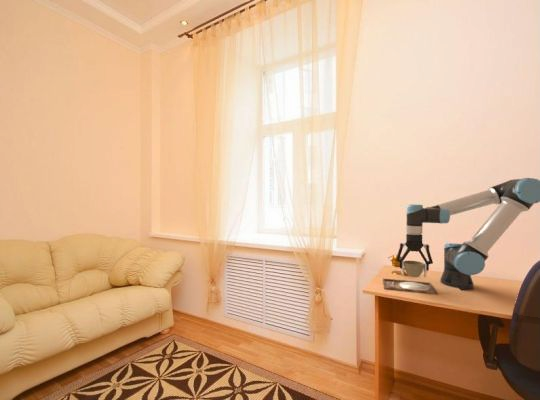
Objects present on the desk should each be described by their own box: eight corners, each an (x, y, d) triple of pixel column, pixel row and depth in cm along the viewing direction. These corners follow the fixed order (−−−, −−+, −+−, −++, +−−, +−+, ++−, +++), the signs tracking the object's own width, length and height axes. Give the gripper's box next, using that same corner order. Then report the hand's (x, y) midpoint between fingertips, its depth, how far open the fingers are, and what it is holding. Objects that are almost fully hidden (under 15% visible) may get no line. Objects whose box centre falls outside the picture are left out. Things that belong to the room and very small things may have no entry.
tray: (429, 285, 152) (430, 282, 152) (436, 295, 136) (436, 292, 136) (382, 281, 160) (382, 278, 160) (384, 290, 144) (384, 287, 144)
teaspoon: (391, 281, 156) (391, 281, 156) (395, 282, 155) (395, 281, 155) (389, 287, 147) (389, 286, 147) (393, 287, 146) (393, 286, 146)
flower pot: (427, 279, 141) (427, 265, 141) (406, 278, 143) (406, 264, 143) (420, 274, 151) (421, 260, 151) (401, 272, 153) (401, 259, 153)
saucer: (426, 284, 151) (426, 283, 151) (431, 293, 138) (431, 291, 138) (398, 282, 156) (398, 280, 156) (400, 290, 143) (400, 288, 143)
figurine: (387, 271, 180) (387, 253, 180) (405, 272, 178) (405, 253, 178) (390, 275, 172) (390, 255, 172) (409, 276, 170) (409, 256, 170)
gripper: (436, 233, 146) (436, 275, 147) (390, 231, 154) (390, 271, 154) (440, 235, 139) (439, 279, 140) (391, 233, 147) (391, 275, 147)
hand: (413, 275), depth 147 cm, fingers closed on flower pot, 10 cm apart
